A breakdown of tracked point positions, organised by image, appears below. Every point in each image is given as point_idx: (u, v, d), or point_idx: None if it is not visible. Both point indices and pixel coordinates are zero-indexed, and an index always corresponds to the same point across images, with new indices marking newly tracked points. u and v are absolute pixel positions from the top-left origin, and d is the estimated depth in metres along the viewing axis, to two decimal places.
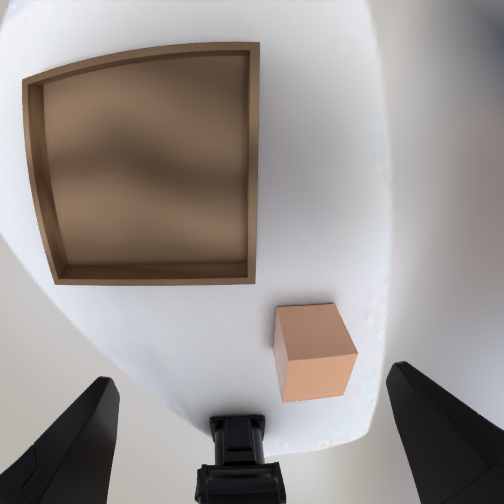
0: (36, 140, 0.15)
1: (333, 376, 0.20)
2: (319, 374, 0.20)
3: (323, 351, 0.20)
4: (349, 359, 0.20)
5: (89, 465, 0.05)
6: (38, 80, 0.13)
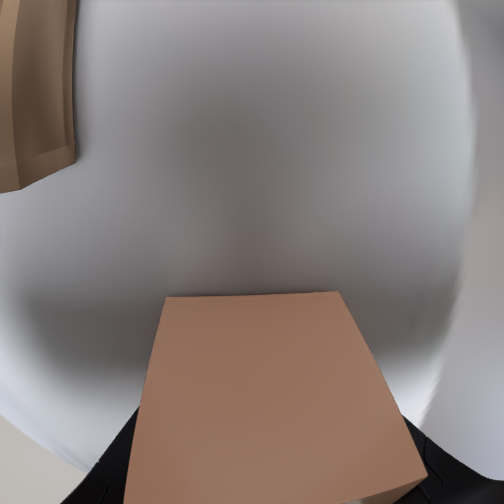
0: None
1: None
2: None
3: (284, 483, 0.04)
4: (392, 494, 0.04)
5: None
6: None
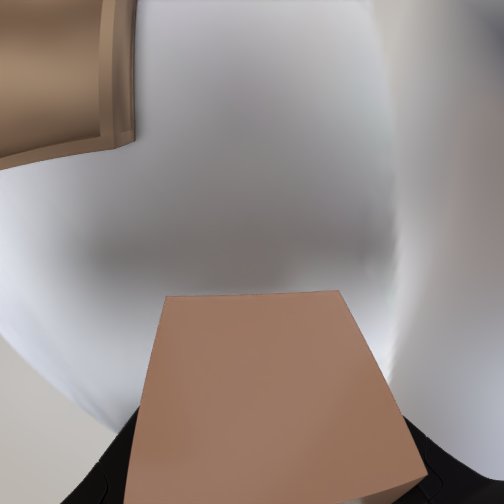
0: None
1: None
2: None
3: (285, 482, 0.04)
4: (392, 493, 0.04)
5: None
6: None
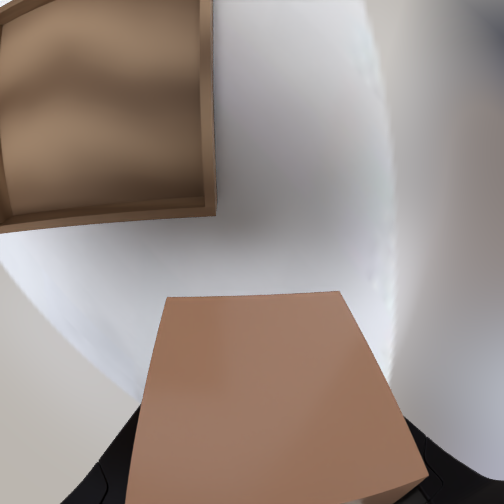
0: None
1: None
2: None
3: (286, 483, 0.04)
4: (393, 493, 0.04)
5: None
6: None
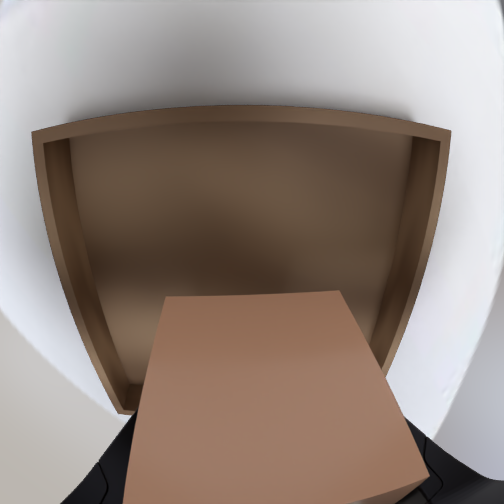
0: (69, 239, 0.10)
1: None
2: None
3: (286, 484, 0.04)
4: (393, 495, 0.04)
5: None
6: (64, 137, 0.08)
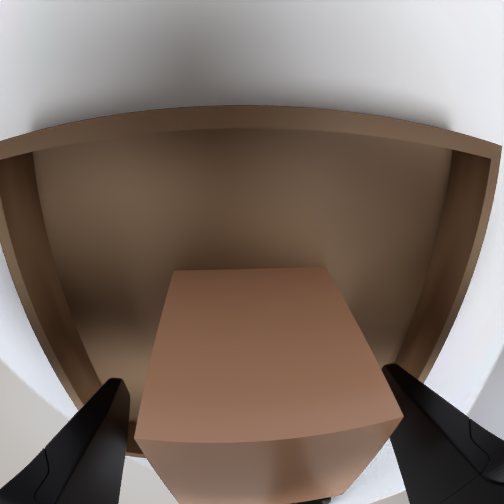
0: (37, 276, 0.08)
1: (314, 474, 0.06)
2: (266, 474, 0.05)
3: (276, 415, 0.05)
4: (372, 435, 0.05)
5: (102, 468, 0.05)
6: (17, 153, 0.06)
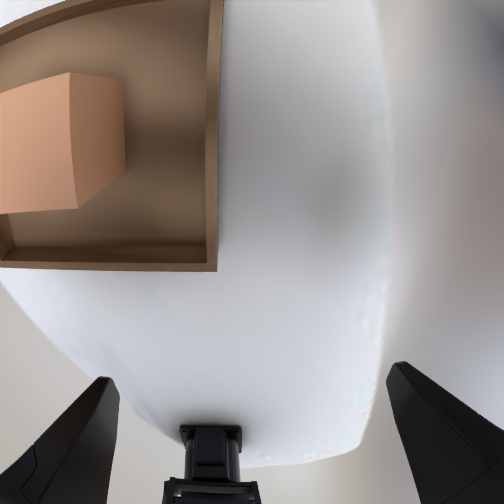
0: None
1: (39, 140, 0.08)
2: (16, 133, 0.08)
3: None
4: (57, 88, 0.08)
5: (89, 465, 0.05)
6: None
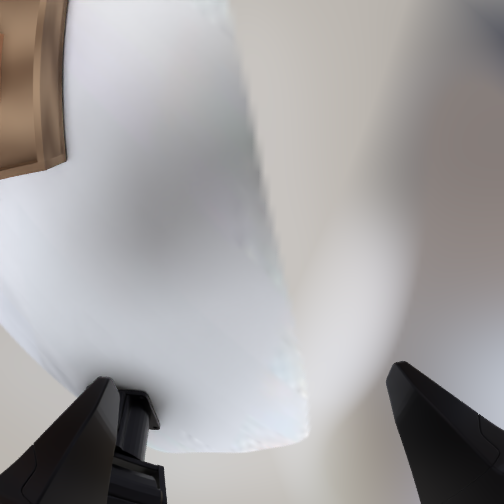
0: None
1: None
2: None
3: None
4: None
5: (89, 465, 0.05)
6: None
